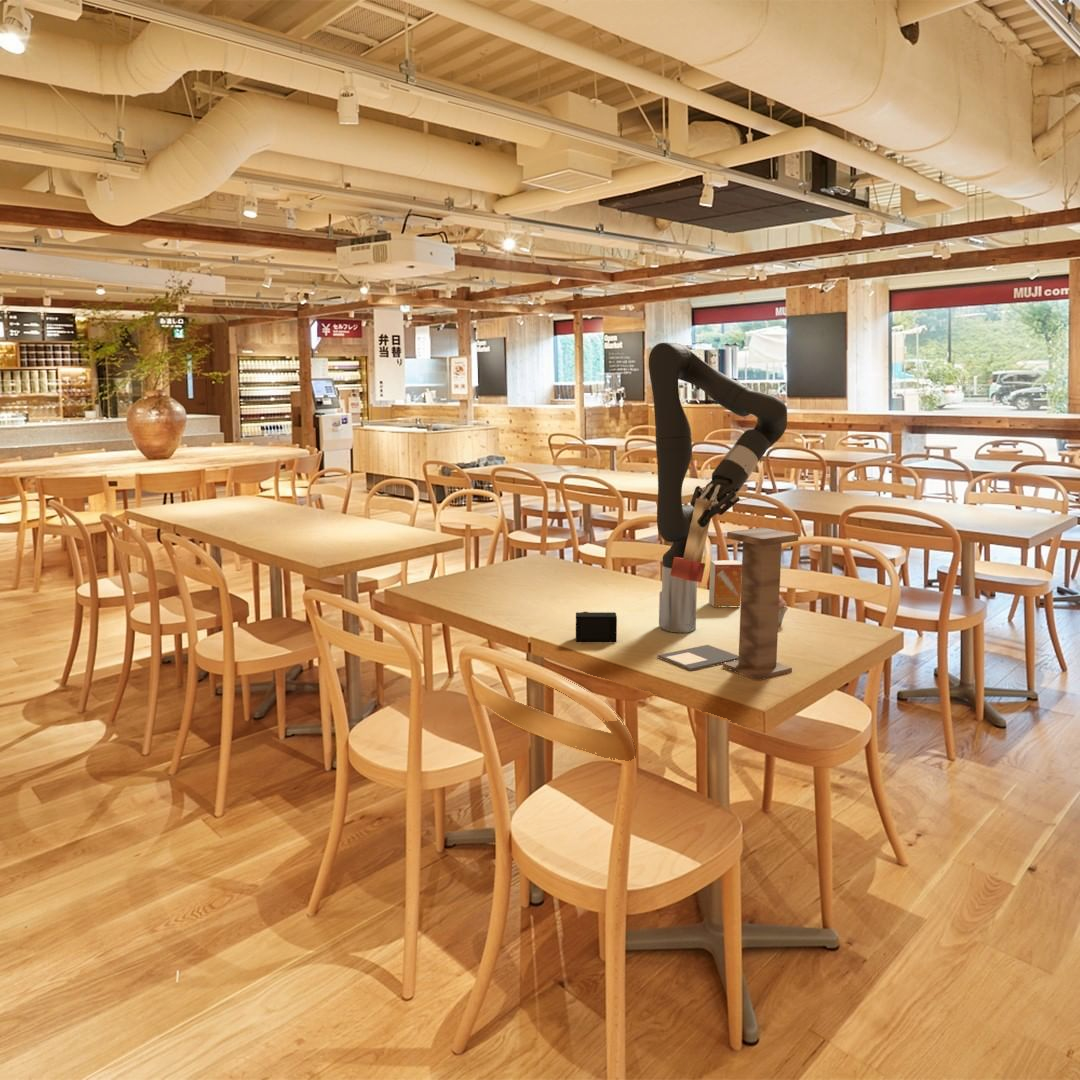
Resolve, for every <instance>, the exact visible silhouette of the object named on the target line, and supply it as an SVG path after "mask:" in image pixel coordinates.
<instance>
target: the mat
mask: <svg viewBox="0 0 1080 1080" xmlns="http://www.w3.org/2000/svg"><path fill="white" fill-rule="evenodd" d="M658 657H659V658H658ZM657 658H658V659H660V658H662V659H661V660H663V659H664V660H663V661H665V660H667V661H669V662H668V663H670V662H672V663H674V664H673V665H675V664H676V666H677V665H678V666H677V667H680V668H682V667H683V668H682V669H685V670H688V671H691V672H692V671H698V670H702V669H706V668H709V666H710V667H714V666H713V665H715V666H718V665H717V664H719V665H722V664H721V663H725V662H730V661H734V660H739V654H738V655H737V654H735V653H731V652H729V651H726V650H723V649H721V648H718V647H716V646H713V645H710V644H704V645H700V646H695V647H690V648H686V649H681V650H675V651H671V652H667V653H666V652H665V653H661V654H657ZM667 661H666V662H667ZM672 663H671V664H672ZM705 667H706V668H705ZM701 668H702V669H701Z"/></svg>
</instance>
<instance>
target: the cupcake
mask: <svg viewBox="0 0 1080 1080" xmlns="http://www.w3.org/2000/svg"><path fill="white" fill-rule="evenodd" d="M786 603H787V602H786V601H785V599H783V597H782V595H781V594H779V615H778V627H780V626H781V625H782V623H783V621H784V620H783V619H784V617H785V614H786V612H787V611H788V609H789V607H788V606H786Z"/></svg>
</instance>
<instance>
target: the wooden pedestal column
mask: <svg viewBox="0 0 1080 1080" xmlns="http://www.w3.org/2000/svg"><path fill="white" fill-rule="evenodd" d="M726 532H727V533H726V539H727V540H728V539H729V540H732V541H738V542H742V553H741V554H742V557H741V564H742V578H741V600H740V607H739V608H740V609H739V610H740V611H739V613H740V614H739V636H738V637H739V639H738V640H739V641H738V656H739V660H735V661H730V662H726V663H723V664H722V668H723V667H725V668H724V669H726V668H727V670H728V669H731V670H732V671H731V670H730V671H731V672H734V671H736V672H738V673H737V674H739V673H741V674H740V675H742V674H743V675H742V676H744V675H745V677H747V678H749V677H750V679H752V678H753V680H755V679H756V680H755V681H760V679H761V680H764V679H763V678H765V679H768V678H773V677H778V676H781V675H780V674H782V675H785V673H786V674H789V673H788V672H790V673H792V672H793V667H791V666H790V665H789V666H788V665H785V664H783V663H780V662H777V660H778V659H777V657H778V656H777V655H778V639H779V638H778V637H779V635H778V633H779V626H778V615H779V595H780V588H781V569H782V568H781V566H782V548H783V547H782V544H786V543H792V542H799V534H798V533H793V532H788V531H782V530H778V529H773V528H772V529H771V528H766V527H756V528H748V529H740V530H731V531H726ZM736 672H735V673H736ZM772 676H773V677H772Z"/></svg>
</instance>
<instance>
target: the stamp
mask: <svg viewBox="0 0 1080 1080" xmlns="http://www.w3.org/2000/svg"><path fill="white" fill-rule="evenodd" d="M710 502H711V501H709V500H707V499H706V500H704V499H698V498H696V501H695V506H694V510H693V516H692V521H691V524H690V529H689V534H688V538H687V543H686V548H685V552H684V557H683V558H678V557H674V560H673V565H672V570H671V574H670V575H671V576H674V577H678V578H681V579H685V580H690V581H696V582H697V583H702V581H703V577H704V571H705V567H706V563H705V562H702V560H703V555H704V550H705V545H706V542H707V537H708V533H709V528H710V522H711V520H710V521H709V522H708V524H707V525H706V526H705V527H701V526H700V525H699V524H698V523H697V521H698V519H699V518H700V517H701V515H702V514H703V513H704V511H705V510H708V509H707V507H708V506H709V504H710Z"/></svg>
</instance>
